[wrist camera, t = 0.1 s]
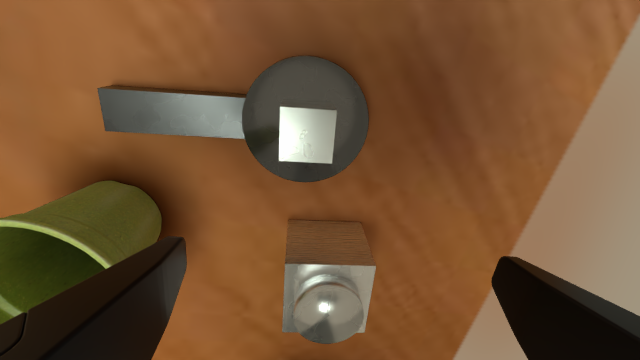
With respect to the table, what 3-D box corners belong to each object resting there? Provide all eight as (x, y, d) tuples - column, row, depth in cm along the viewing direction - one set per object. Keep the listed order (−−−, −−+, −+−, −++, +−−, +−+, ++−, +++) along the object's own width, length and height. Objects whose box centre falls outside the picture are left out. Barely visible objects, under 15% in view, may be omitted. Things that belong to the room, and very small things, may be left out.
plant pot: (210, 235, 25) (168, 324, 17) (116, 284, 26) (35, 388, 18) (129, 134, 21) (28, 186, 13) (24, 196, 23) (-124, 276, 15)
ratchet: (370, 60, 21) (390, 64, 16) (355, 174, 24) (369, 204, 19) (104, 39, 19) (42, 36, 15) (125, 163, 22) (79, 193, 18)
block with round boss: (352, 280, 27) (368, 351, 21) (285, 278, 27) (281, 351, 20) (360, 222, 25) (381, 282, 19) (288, 219, 25) (283, 280, 18)
